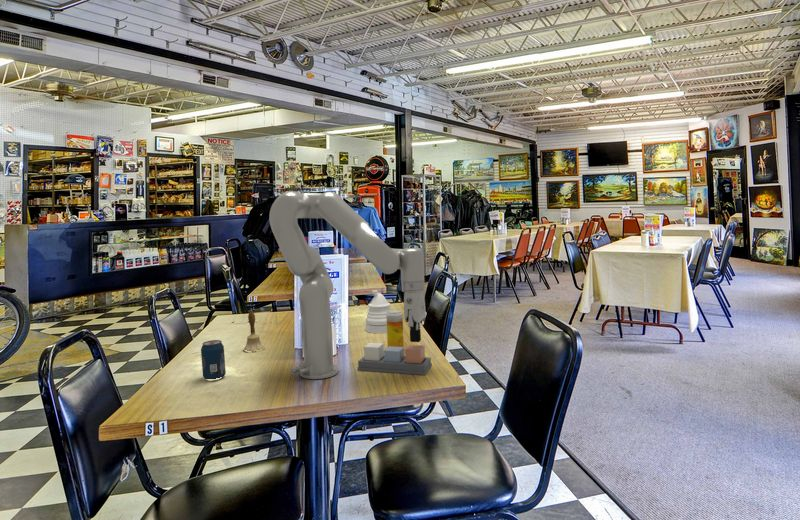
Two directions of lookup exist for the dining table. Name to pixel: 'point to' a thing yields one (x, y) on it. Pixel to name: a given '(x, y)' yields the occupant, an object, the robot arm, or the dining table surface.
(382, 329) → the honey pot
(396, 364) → the grey flat block
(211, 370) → the soda can
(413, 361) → the terracotta key
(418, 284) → the robot arm
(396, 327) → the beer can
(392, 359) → the blue key
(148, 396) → the dining table surface
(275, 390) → the dining table surface
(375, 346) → the ivory key
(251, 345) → the hand bell
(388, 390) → the dining table surface
